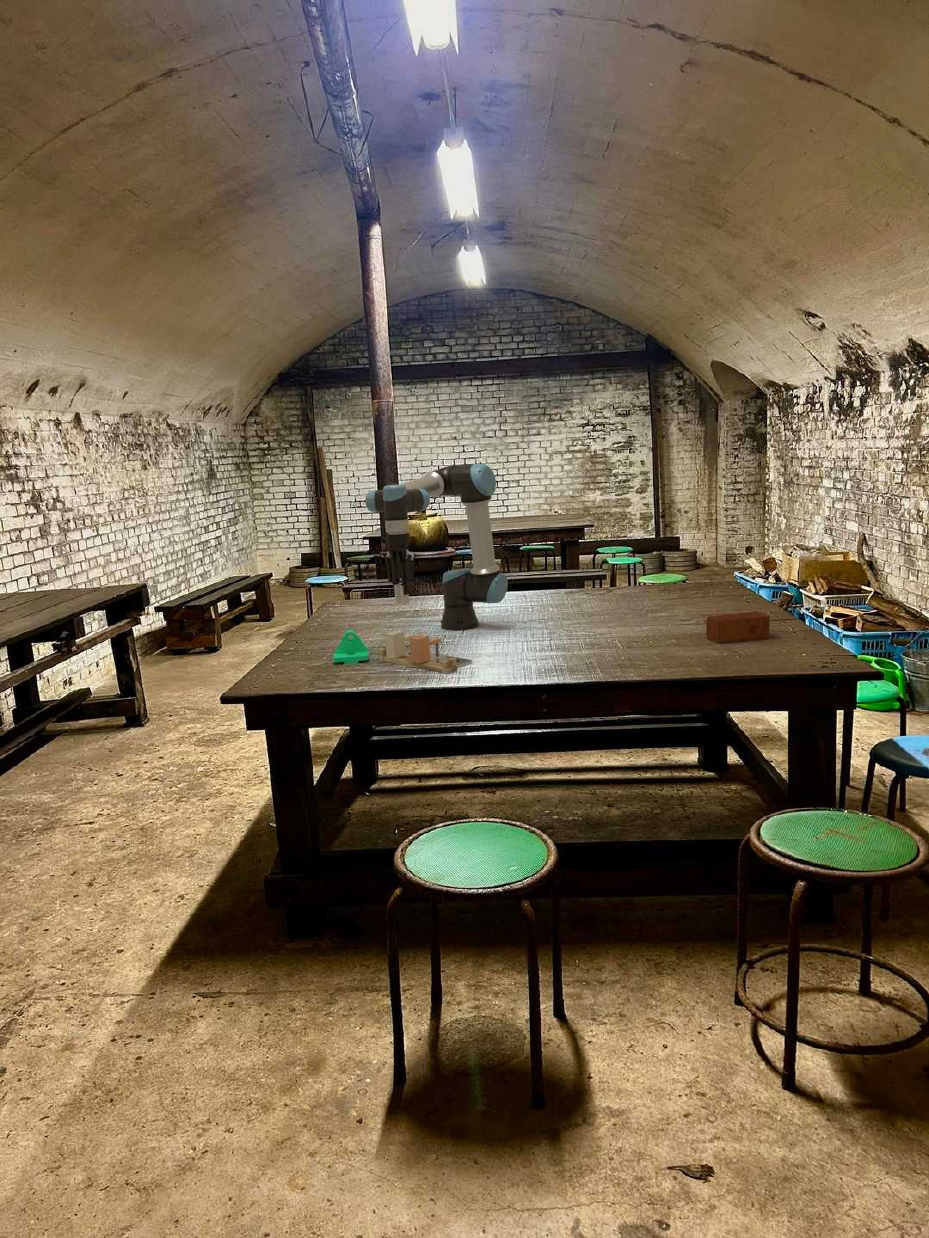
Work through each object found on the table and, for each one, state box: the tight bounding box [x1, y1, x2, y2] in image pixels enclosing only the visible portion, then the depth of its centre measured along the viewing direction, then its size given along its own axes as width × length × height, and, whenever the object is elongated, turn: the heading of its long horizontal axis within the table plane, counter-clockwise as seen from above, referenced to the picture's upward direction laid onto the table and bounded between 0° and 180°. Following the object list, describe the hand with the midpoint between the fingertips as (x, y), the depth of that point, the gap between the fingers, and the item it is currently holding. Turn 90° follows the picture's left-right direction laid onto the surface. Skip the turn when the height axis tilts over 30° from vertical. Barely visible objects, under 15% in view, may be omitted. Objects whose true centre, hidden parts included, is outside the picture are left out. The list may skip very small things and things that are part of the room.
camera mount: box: [332, 629, 370, 665], centre depth 266 cm, size 12×8×10 cm, turn 96°
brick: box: [705, 610, 771, 644], centre depth 268 cm, size 20×8×8 cm, turn 100°
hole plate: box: [404, 650, 473, 669], centre depth 262 cm, size 8×28×1 cm, turn 48°
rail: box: [378, 647, 458, 675], centre depth 256 cm, size 5×32×4 cm, turn 48°
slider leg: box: [409, 634, 442, 664], centre depth 256 cm, size 12×4×8 cm, turn 138°
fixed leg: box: [384, 630, 417, 659], centre depth 264 cm, size 12×4×8 cm, turn 138°
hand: (402, 603), depth 255 cm, fingers open, 2 cm apart
